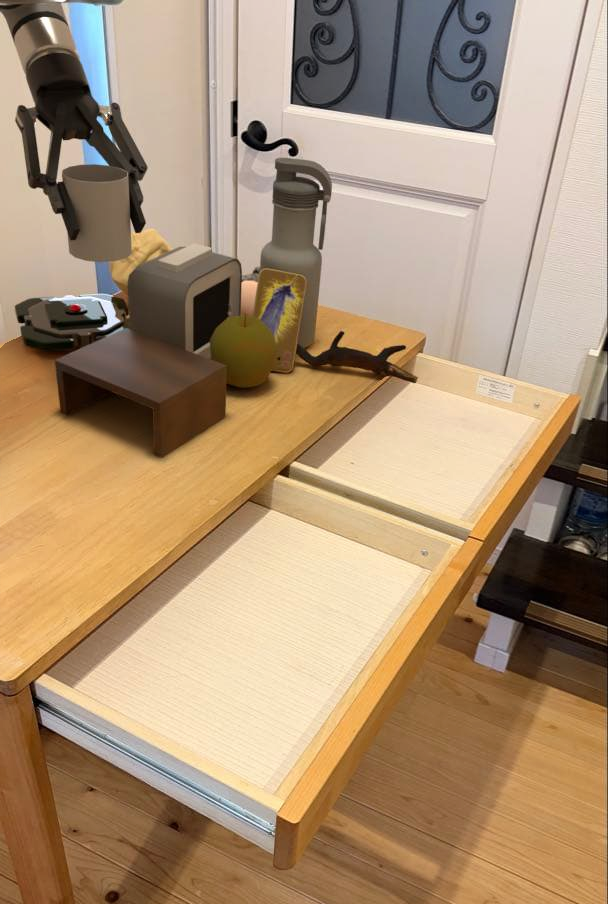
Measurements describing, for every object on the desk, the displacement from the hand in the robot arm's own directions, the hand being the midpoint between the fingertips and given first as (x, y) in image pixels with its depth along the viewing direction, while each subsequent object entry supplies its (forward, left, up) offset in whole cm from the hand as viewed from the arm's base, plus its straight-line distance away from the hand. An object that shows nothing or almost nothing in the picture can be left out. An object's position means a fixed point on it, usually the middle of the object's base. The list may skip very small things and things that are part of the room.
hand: (108, 231), depth 107 cm
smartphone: (+25, -12, -8) cm, 29 cm away
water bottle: (+30, -10, -23) cm, 39 cm away
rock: (+42, 0, -24) cm, 48 cm away
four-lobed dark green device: (+10, +18, -23) cm, 30 cm away
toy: (+30, -23, -18) cm, 42 cm away
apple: (+13, -13, -23) cm, 29 cm away
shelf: (-4, -8, -23) cm, 24 cm away
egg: (+34, +3, -17) cm, 39 cm away
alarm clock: (+16, +1, -23) cm, 28 cm away
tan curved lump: (+31, +18, -20) cm, 41 cm away
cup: (+1, +3, -4) cm, 5 cm away
